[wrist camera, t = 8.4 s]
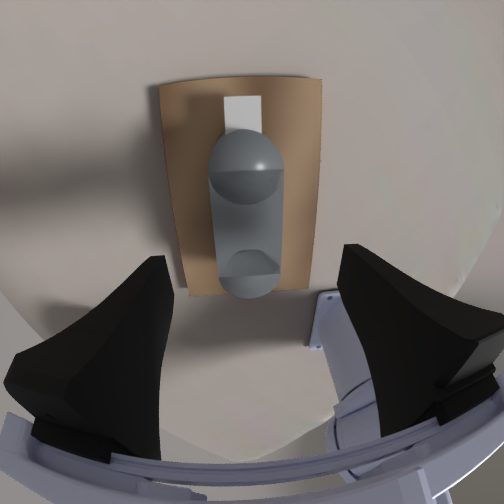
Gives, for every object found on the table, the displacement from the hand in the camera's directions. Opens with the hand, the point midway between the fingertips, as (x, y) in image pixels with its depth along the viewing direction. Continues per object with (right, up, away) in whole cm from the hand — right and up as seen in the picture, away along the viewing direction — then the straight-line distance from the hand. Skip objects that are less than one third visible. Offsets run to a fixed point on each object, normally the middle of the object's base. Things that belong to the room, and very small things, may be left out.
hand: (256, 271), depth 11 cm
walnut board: (-1, +5, +7) cm, 9 cm away
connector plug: (-1, +4, +6) cm, 8 cm away
